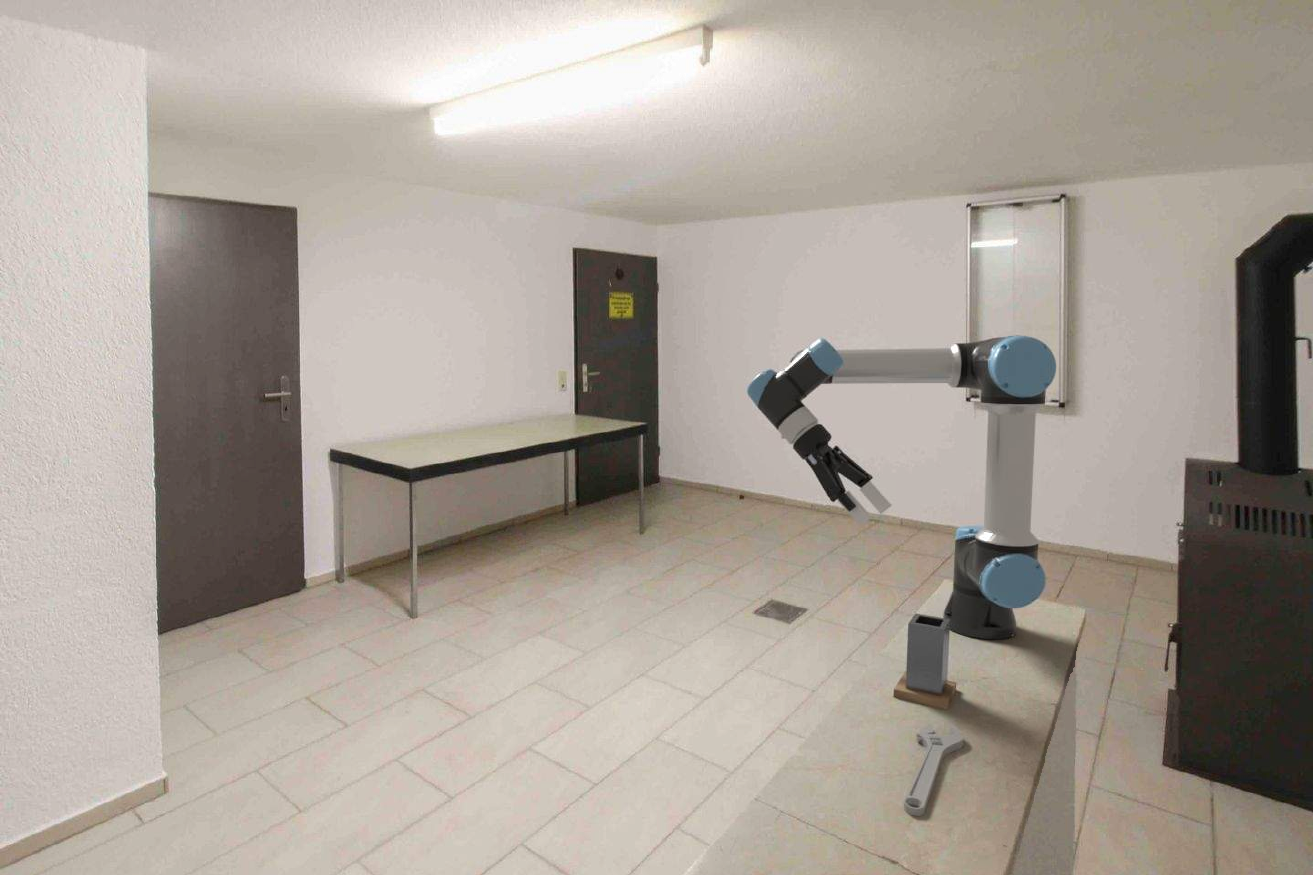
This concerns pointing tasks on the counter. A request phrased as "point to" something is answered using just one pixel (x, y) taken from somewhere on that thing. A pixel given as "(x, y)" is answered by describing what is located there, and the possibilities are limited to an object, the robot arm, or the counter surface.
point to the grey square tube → (927, 654)
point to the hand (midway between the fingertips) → (876, 515)
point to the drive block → (925, 694)
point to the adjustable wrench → (930, 765)
